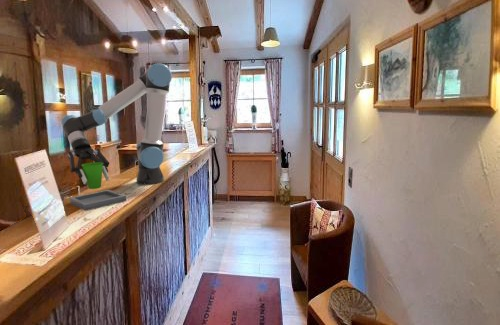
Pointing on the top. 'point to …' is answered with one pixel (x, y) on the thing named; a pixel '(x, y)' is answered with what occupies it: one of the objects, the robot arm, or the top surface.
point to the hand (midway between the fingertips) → (97, 180)
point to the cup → (93, 174)
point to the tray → (97, 199)
